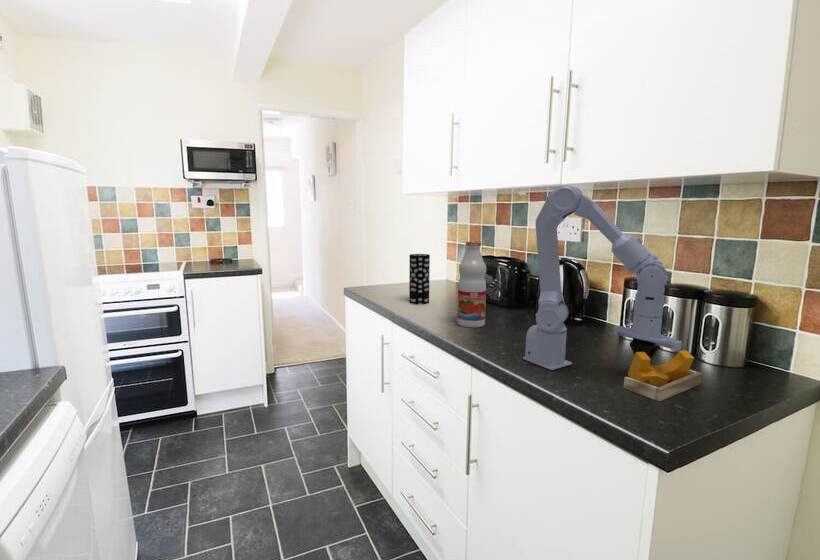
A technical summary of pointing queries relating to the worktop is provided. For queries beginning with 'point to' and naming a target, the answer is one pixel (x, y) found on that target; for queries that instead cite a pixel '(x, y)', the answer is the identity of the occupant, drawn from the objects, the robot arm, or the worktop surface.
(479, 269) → the fruit juice
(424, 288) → the spotted tube
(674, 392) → the tray
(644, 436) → the worktop surface
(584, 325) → the worktop surface
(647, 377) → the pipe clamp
